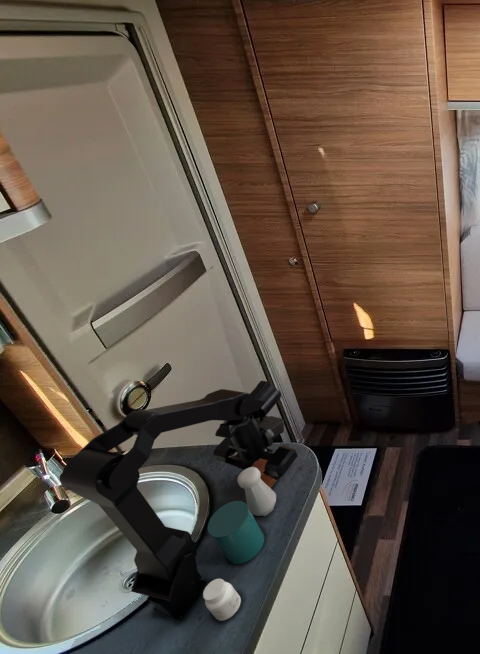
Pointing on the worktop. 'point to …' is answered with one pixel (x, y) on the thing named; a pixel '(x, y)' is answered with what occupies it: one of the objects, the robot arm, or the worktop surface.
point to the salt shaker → (256, 492)
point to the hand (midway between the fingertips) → (266, 475)
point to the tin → (236, 532)
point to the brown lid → (261, 465)
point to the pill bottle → (221, 599)
